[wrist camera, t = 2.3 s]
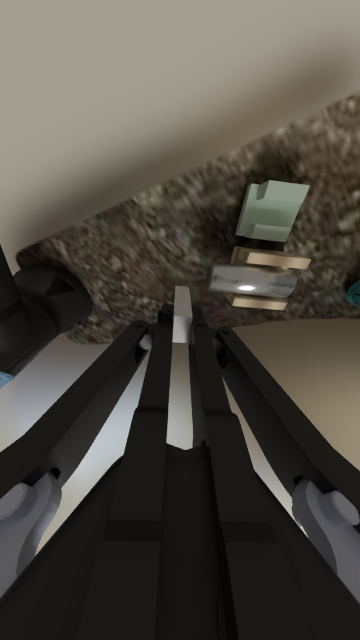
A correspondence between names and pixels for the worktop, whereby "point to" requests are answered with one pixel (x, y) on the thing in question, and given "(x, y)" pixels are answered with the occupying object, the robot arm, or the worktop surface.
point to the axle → (250, 279)
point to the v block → (270, 210)
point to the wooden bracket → (265, 260)
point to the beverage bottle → (354, 294)
